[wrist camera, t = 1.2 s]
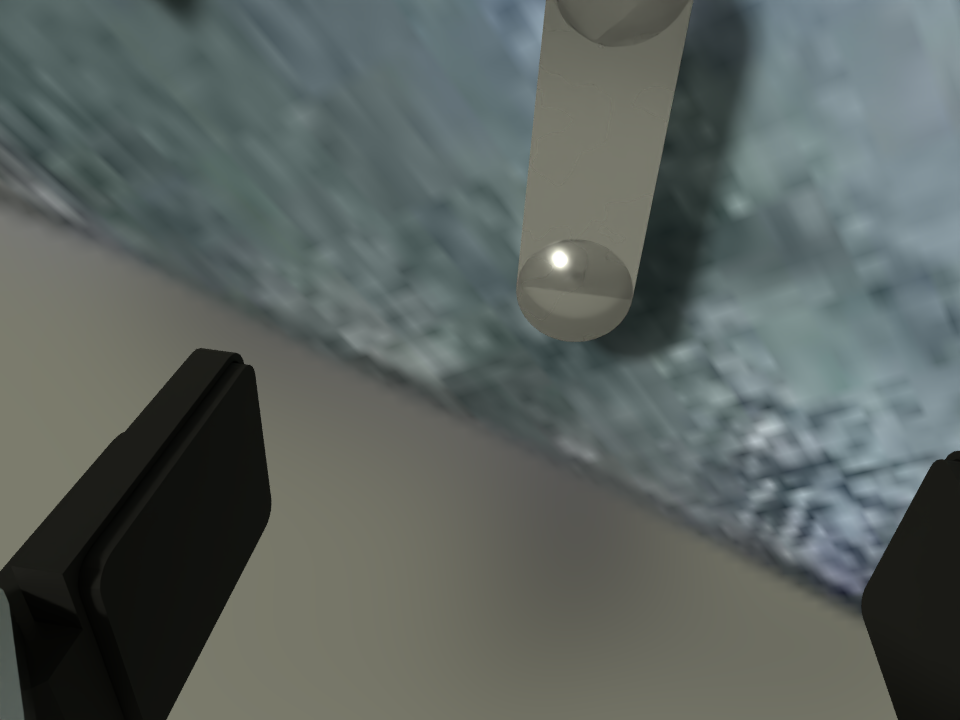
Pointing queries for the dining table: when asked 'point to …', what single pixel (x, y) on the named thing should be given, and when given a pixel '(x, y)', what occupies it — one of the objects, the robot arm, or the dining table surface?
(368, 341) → the dining table surface
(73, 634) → the robot arm
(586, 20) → the grey capsule bar
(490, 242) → the dining table surface
